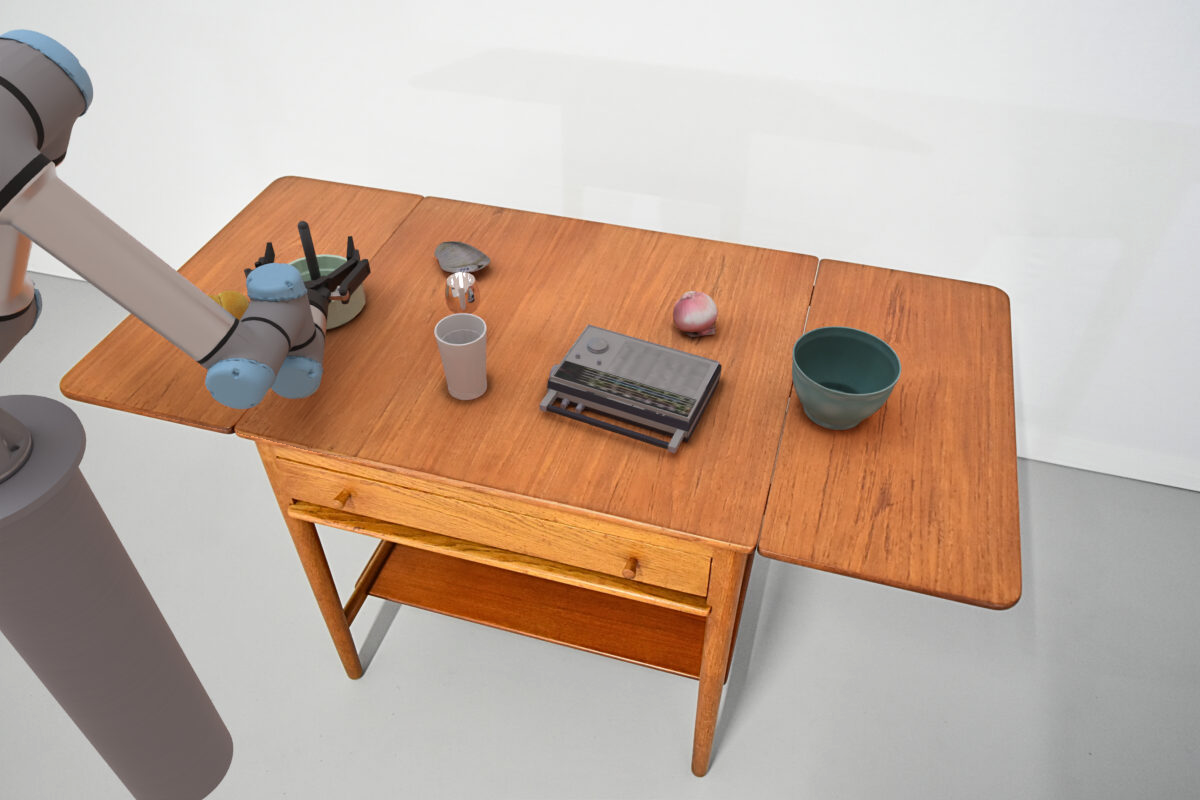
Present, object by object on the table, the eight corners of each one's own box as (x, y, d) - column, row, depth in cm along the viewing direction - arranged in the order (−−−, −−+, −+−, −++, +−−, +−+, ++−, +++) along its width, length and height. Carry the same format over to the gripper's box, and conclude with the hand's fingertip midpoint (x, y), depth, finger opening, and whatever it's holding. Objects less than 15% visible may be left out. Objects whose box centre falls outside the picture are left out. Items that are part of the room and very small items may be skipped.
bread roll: (254, 321, 158) (248, 302, 155) (201, 334, 155) (194, 315, 152) (247, 295, 163) (241, 277, 161) (195, 307, 161) (188, 289, 158)
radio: (723, 355, 144) (680, 436, 131) (720, 380, 148) (678, 461, 134) (585, 316, 151) (531, 389, 138) (585, 341, 155) (532, 414, 141)
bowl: (308, 345, 153) (300, 317, 149) (262, 306, 161) (253, 278, 157) (383, 307, 161) (378, 279, 157) (335, 271, 169) (329, 244, 165)
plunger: (317, 316, 158) (296, 234, 146) (300, 302, 161) (278, 221, 149) (344, 303, 161) (325, 221, 149) (327, 289, 164) (307, 209, 152)
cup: (435, 380, 147) (426, 322, 139) (480, 365, 150) (474, 307, 142) (454, 409, 142) (446, 351, 134) (500, 393, 145) (495, 335, 137)
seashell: (421, 271, 169) (418, 248, 166) (447, 249, 175) (444, 227, 171) (473, 289, 165) (471, 266, 162) (498, 267, 171) (496, 244, 167)
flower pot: (841, 365, 151) (854, 314, 143) (907, 426, 140) (924, 374, 133) (762, 395, 145) (771, 343, 138) (823, 460, 135) (837, 408, 127)
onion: (693, 309, 162) (696, 276, 157) (726, 329, 158) (730, 296, 153) (663, 328, 157) (665, 295, 153) (696, 349, 153) (699, 315, 149)
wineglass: (475, 350, 152) (469, 293, 144) (444, 343, 154) (437, 286, 146) (489, 330, 157) (484, 274, 148) (459, 324, 158) (452, 267, 150)
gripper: (226, 346, 142) (242, 269, 157) (386, 331, 145) (387, 257, 160) (212, 308, 137) (231, 232, 152) (379, 293, 140) (381, 221, 155)
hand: (311, 245), depth 156 cm, fingers open, 13 cm apart
